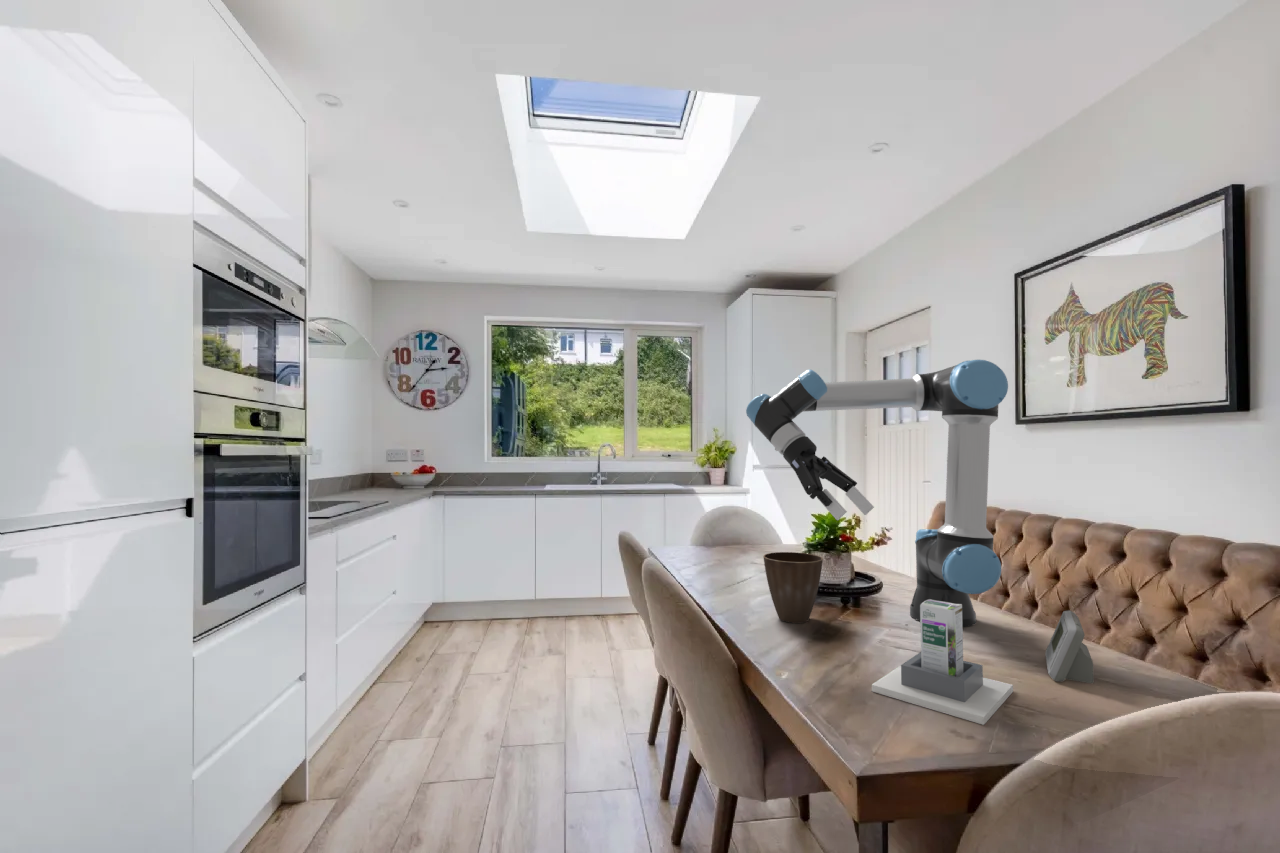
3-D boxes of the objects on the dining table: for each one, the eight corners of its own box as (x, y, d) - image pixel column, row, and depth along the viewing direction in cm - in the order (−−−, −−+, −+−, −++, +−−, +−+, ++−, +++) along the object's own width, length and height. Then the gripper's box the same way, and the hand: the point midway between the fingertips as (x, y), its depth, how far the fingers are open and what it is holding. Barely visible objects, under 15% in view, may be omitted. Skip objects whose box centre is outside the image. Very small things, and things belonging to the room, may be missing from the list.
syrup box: (920, 684, 104) (918, 603, 105) (931, 675, 109) (929, 597, 109) (955, 693, 101) (953, 609, 101) (964, 683, 105) (963, 603, 105)
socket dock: (909, 665, 117) (909, 641, 117) (1013, 691, 104) (1012, 665, 104) (871, 691, 104) (871, 664, 105) (983, 725, 92) (983, 694, 92)
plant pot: (761, 610, 158) (761, 551, 158) (818, 612, 156) (817, 552, 156) (766, 626, 143) (765, 561, 143) (828, 629, 141) (827, 562, 141)
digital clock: (1047, 656, 122) (1045, 605, 123) (1101, 667, 116) (1099, 613, 117) (1030, 677, 111) (1029, 621, 111) (1090, 691, 105) (1088, 632, 105)
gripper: (810, 456, 149) (868, 519, 138) (755, 457, 132) (817, 530, 120) (829, 435, 146) (890, 498, 134) (775, 433, 128) (841, 506, 117)
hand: (856, 513), depth 127 cm, fingers open, 13 cm apart
